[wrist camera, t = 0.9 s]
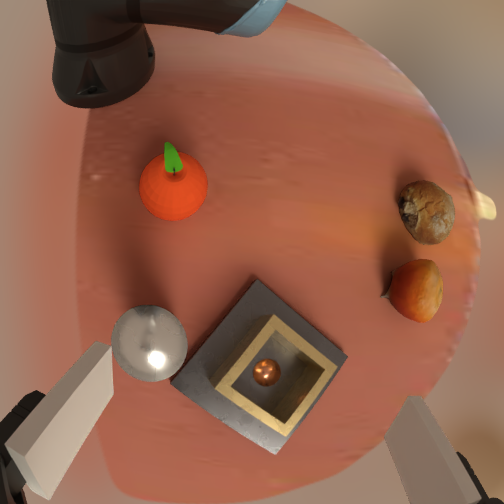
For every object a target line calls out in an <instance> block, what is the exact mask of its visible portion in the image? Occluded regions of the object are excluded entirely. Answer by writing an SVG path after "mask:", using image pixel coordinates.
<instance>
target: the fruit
mask: <svg viewBox="0 0 504 504" xmlns="http://www.w3.org/2000/svg"><path fill="white" fill-rule="evenodd" d="M391 273H392V275H393V278H392V282H391V285H390V288H389V290H388V292H387V293H386V295H384V296H381V298H384V297H387V298H389V300H390V302H391V304H392V305H393V306H394V308H395V309H396V310H397V311H398V312H399V313H400V314H402V315H403V316H405V317H406V318H408V319H411V320H414V321H416V322H422V323H425V322H426V321H428V320H430V319H431V318H432V317H433V316H434V314H435V313H436V312H437V310H438V308H439V305H440V304H441V301H442V294H443V281H442V276H441V274H440V271H439V269H438V267H437V266H436V264H435V263H434V262H433V261H432V260H427V259H418V260H414V261H410V262H408V263H406V264H404V265H403V266H401V267H399V268H397V269H396V270H394V271H392V272H391Z"/></svg>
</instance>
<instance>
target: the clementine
mask: <svg viewBox="0 0 504 504" xmlns="http://www.w3.org/2000/svg"><path fill="white" fill-rule="evenodd" d="M207 188H208V183H207V176H206V173H205V171H204V169H203V167H202V166H201V165H200V164H199V162H198V161H197V160H196V159H194V158H193V157H192V156H190V155H188V154H185V153H182V152H177V151H176V149H175V148H174V147H173V145H172V144H171V143H169V142H165V146H164V153H163V154H160V155H159V156H157V157H155V158H154V159H153V160H152V161H151V162H150V163H149V164H148V165H147V166H146V167H145V168H144V170H143V172H142V174H141V178H140V182H139V194H140V197H141V199H142V202H143V204H144V205H145V207H146V208H147V209H148V211H149V212H151V213H152V214H153V215H154V216H156V217H158V218H161V219H163V220H170V221H174V220H181V219H184V218H187V217H189V216H191V215H192V214H193V213H195V212H196V211H197V210H198V209H199V207H200V206H201V205H202V204H203V202H204V199H205V197H206V194H207Z"/></svg>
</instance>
